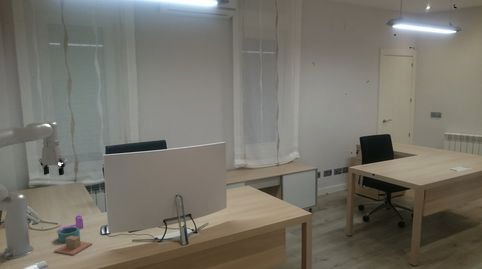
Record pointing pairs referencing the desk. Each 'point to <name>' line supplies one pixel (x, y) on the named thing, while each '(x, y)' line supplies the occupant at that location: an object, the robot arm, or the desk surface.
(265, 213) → the desk surface
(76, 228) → the bowl
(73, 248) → the lid
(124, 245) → the desk surface
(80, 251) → the mat
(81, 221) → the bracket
